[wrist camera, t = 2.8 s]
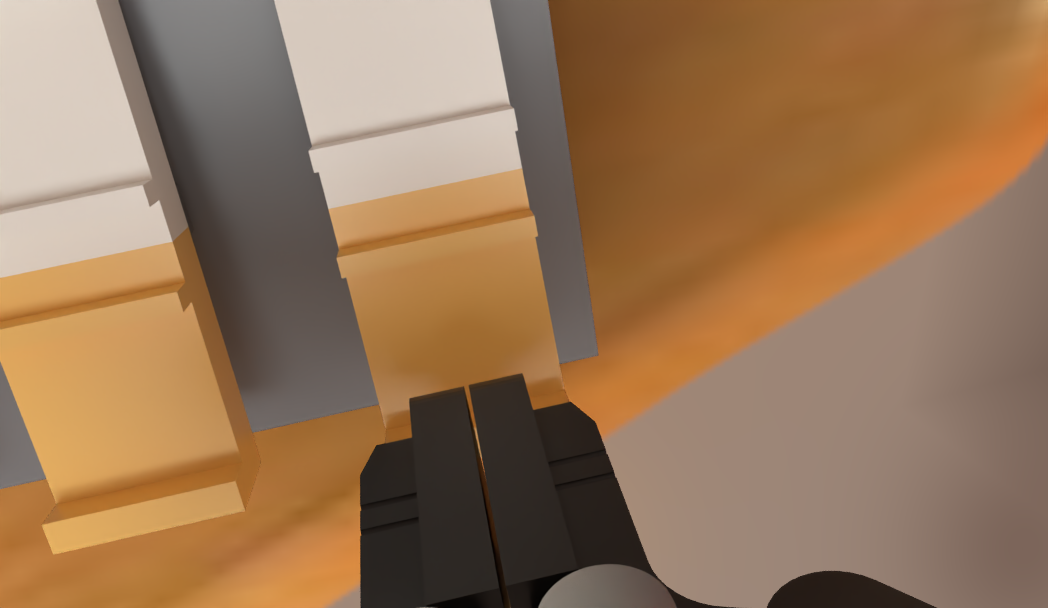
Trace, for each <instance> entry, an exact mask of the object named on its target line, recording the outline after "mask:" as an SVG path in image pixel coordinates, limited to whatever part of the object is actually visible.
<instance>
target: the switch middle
mask: <svg viewBox="0 0 1048 608" xmlns="http://www.w3.org/2000/svg"><path fill="white" fill-rule="evenodd" d="M0 362H1V364H2V367H3V369H4V372H5V374H6V377H7V380H8V382H9V385H10V387H11V390H12V392H13V395H14V397H15V400H16V402H17V405H18V408H19V410H20V413H21V415H22V418H23V420H24V423H25V425H26V428H27V430H28V433H29V436H30V438H31V441H32V443H33V446H34V448H35V451H36V453H37V456H38V458H39V461H40V463H41V466H42V469H43V471H44V474H45V476H46V479H47V481H48V484H49V486H50V489H51V491H52V494H53V497H54V499H55V502H56V506H55V507H54V508H53V510H52V511H51V513H50V514H49V515H48V517H47V518H46V520H45V521H44V522H43V524H42V527H43V530H44V532H45V535H46V537H47V540H48V542H49V545H50V547H51V550H52V552H53V555H54V554H58V553H63V552H67V551H71V550H76V549H80V548H85V547H89V546H93V545H98V544H102V543H107V542H111V541H115V540H120V539H124V538H128V537H133V536H137V535H142V534H146V533H150V532H155V531H159V530H164V529H168V528H172V527H177V526H181V525H185V524H190V523H194V522H199V521H203V520H207V519H212V518H216V517H221V516H225V515H229V514H234V513H238V512H242V511H245V510H246V507H247V504H248V501H249V498H250V495H251V492H252V489H253V485H254V482H255V479H256V476H257V473H258V470H259V467H260V464H261V459H260V456H259V453H258V449H257V446H256V443H255V440H254V437H253V433H252V430H251V427H250V424H249V420H248V417H247V414H246V411H245V408H244V404H243V401H242V398H241V395H240V391H239V388H238V385H237V382H236V379H235V375H234V372H233V369H232V366H231V362H230V359H229V356H228V353H227V350H226V346H225V343H224V340H223V337H222V333H221V330H220V327H219V324H218V321H217V317H216V314H215V311H214V308H213V304H212V301H211V298H210V295H209V291H208V288H207V285H206V282H205V279H204V275H203V272H202V269H201V266H200V262H199V259H198V256H197V253H196V250H195V246H194V243H193V240H192V237H191V233H190V230H189V227H188V224H187V221H186V217H185V214H184V211H183V208H182V204H181V201H180V198H179V195H178V192H177V188H176V185H175V182H174V179H173V175H172V172H171V169H170V166H169V163H168V159H167V156H166V153H165V150H164V146H163V143H162V140H161V137H160V134H159V130H158V127H157V124H156V121H155V117H154V114H153V111H152V108H151V104H150V101H149V98H148V95H147V92H146V88H145V85H144V82H143V79H142V75H141V72H140V69H139V66H138V63H137V59H136V56H135V53H134V50H133V46H132V43H131V40H130V37H129V34H128V30H127V27H126V24H125V21H124V17H123V14H122V11H121V8H120V5H119V1H118V0H0Z"/></svg>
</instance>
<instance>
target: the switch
mask: <svg viewBox="0 0 1048 608" xmlns="http://www.w3.org/2000/svg"><path fill="white" fill-rule="evenodd" d="M274 2H275V6H276V10H277V14H278V17H279V21H280V25H281V29H282V33H283V37H284V41H285V44H286V48H287V52H288V56H289V60H290V64H291V67H292V71H293V75H294V79H295V83H296V87H297V90H298V94H299V98H300V102H301V106H302V110H303V114H304V117H305V121H306V125H307V129H308V133H309V137H310V140H311V144H312V147H311V148H310V149H309V151H308V152H309V155H310V159H311V163H312V167H313V171H314V173H317V172H319V175H320V179H321V183H322V187H323V190H324V194H325V198H326V202H327V206H328V210H329V213H330V217H331V221H332V225H333V229H334V233H335V236H336V240H337V244H338V248H339V251H338V254H337V262H338V266H339V270H340V274H341V278H346V279H347V283H348V286H349V290H350V294H351V298H352V302H353V306H354V309H355V313H356V317H357V321H358V325H359V329H360V332H361V336H362V340H363V344H364V348H365V352H366V356H367V359H368V363H369V367H370V371H371V375H372V379H373V382H374V386H375V390H376V394H377V398H378V402H379V405H380V409H381V413H382V417H383V421H384V425H385V429H386V439H385V443H389V442H394V441H398V440H403V439H407V438H412V431H411V419H410V407H409V399H410V398H413V397H417V396H422V395H426V394H431V393H435V392H440V391H444V390H449V389H453V388H458V387H462V386H464V388H465V392H466V396H467V400H468V405H469V409H470V413H471V418H472V422H473V426H474V431H475V435H476V439H477V443H478V448H479V452H480V456H481V457H482V455H481V450H480V445H479V439H478V434H477V428H476V423H475V418H474V412H473V407H472V402H471V396H470V391H469V385H470V384H475V383H479V382H484V381H488V380H493V379H497V378H502V377H507V376H511V375H516V374H520V373H522V374H523V376H524V380H525V383H526V387H527V390H528V394H529V397H530V401H531V404H532V408H533V410H536V409H540V408H544V407H549V406H553V405H558V404H562V403H567V402H569V399H568V397H567V395H566V392H565V390H564V385H563V380H562V374H561V369H560V364H559V359H558V353H557V348H556V343H555V338H554V333H553V327H552V322H551V317H550V312H549V306H548V301H547V296H546V291H545V285H544V280H543V275H542V270H541V265H540V259H539V254H538V249H537V244H536V238H535V237H537V236H538V232H537V227H536V222H535V217H534V214H533V213H532V211H531V210H530V207H529V202H528V197H527V191H526V186H525V181H524V176H523V170H522V165H521V160H520V155H519V149H518V144H517V139H516V134H515V131H518V127H517V122H516V117H515V111H514V108H513V107H512V106H510V102H509V97H508V92H507V87H506V81H505V76H504V71H503V66H502V61H501V55H500V50H499V45H498V40H497V34H496V29H495V24H494V19H493V14H492V8H491V3H490V0H274Z"/></svg>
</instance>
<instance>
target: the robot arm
mask: <svg viewBox="0 0 1048 608" xmlns="http://www.w3.org/2000/svg"><path fill="white" fill-rule="evenodd" d="M469 391H470V396H471V402H472V407H473V412H474V418H475V423H476V428H477V434H478V439H479V445H480V450H481V455H482V461H483V465H482V461H481V456H480V452H479V448H478V443H477V439H476V435H475V431H474V426H473V422H472V418H471V413H470V409H469V405H468V400H467V396H466V392H465V388H464V386H462V387H458V388H453V389H449V390H444V391H440V392H435V393H431V394H426V395H422V396H417V397H413V398H410V399H409V407H410V419H411V431H412V438H407V439H403V440H398V441H394V442H389V443H385V444H380V445H376V447H375V449H374V451H373V453H372V455H371V456H370V458H369V460H368V462H367V464H366V466H365V467H364V469H363V471H362V473H361V475H360V506H361V511H360V530H361V536H360V568H361V608H734V607H720V606H712V605H707V604H702V603H699V602H696V601H693V600H690V599H687V598H685V597H684V596H681V595H680V594H678V593H676V592H674V591H673V590H672V589H670V588H669V587H667V586H666V585H665V584H664V583H663V582H662V581H661V580H660V579H659V578H658V577H657V576H656V574H655V573H654V572H653V570H652V569H651V566H650V564H649V563H648V560H647V558H646V555H645V552H644V550H643V547H642V544H641V542H640V539H639V536H638V534H637V531H636V528H635V526H634V523H633V520H632V518H631V515H630V513H629V510H628V508H627V505H626V502H625V499H624V497H623V494H622V491H621V489H620V486H619V483H618V481H617V478H615V474H614V470H613V468H612V465H611V462H610V460H609V457H608V455H607V454H606V449H605V446H604V444H603V441H602V438H601V436H600V433H599V430H598V428H597V425H596V423H595V421H594V420H592V419H591V418H590V417H589V416H587V415H586V414H585V413H584V412H583V411H581V410H580V409H579V408H578V407H576V406H575V405H574V404H573V403H571V402H567V403H562V404H558V405H553V406H549V407H544V408H540V409H536V410H533V408H532V404H531V401H530V397H529V394H528V390H527V387H526V383H525V380H524V376H523V374H522V373H520V374H516V375H511V376H507V377H502V378H497V379H493V380H488V381H484V382H479V383H475V384H470V385H469ZM483 466H484V469H483ZM484 471H485V474H484ZM485 477H486V478H485ZM767 608H936V607H934V606H932V605H930V604H927V603H925V602H923V601H921V600H918V599H916V598H914V597H912V596H910V595H907V594H905V593H903V592H901V591H898V590H896V589H894V588H892V587H890V586H887V585H885V584H883V583H881V582H878V581H876V580H873V579H871V578H868V577H865V576H863V575H859V574H854V573H850V572H842V571H822V572H814V573H810V574H807V575H803V576H800V577H798V578H796V579H793V580H791V581H790V582H788V583H787V584H785V585H784V586H782V587H781V588H780V589H779V590H778V591H777V592H776V593H775V594H774V595H773V597H772V599H771V600H770V602H769V603H768V606H767Z"/></svg>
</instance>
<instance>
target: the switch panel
mask: <svg viewBox="0 0 1048 608" xmlns="http://www.w3.org/2000/svg"><path fill="white" fill-rule="evenodd" d="M118 1H119V5H120V8H121V11H122V14H123V17H124V21H125V24H126V27H127V30H128V34H129V37H130V40H131V43H132V46H133V50H134V53H135V56H136V59H137V63H138V66H139V69H140V72H141V75H142V79H143V82H144V85H145V88H146V92H147V95H148V98H149V101H150V104H151V108H152V111H153V114H154V117H155V121H156V124H157V127H158V130H159V134H160V137H161V140H162V143H163V146H164V150H165V153H166V156H167V159H168V163H169V166H170V169H171V172H172V175H173V179H174V182H175V185H176V188H177V192H178V195H179V198H180V201H181V204H182V208H183V211H184V214H185V217H186V221H187V224H188V227H189V230H190V233H191V237H192V240H193V243H194V246H195V250H196V253H197V256H198V259H199V262H200V266H201V269H202V272H203V275H204V279H205V282H206V285H207V288H208V291H209V295H210V298H211V301H212V304H213V308H214V311H215V314H216V317H217V321H218V324H219V327H220V330H221V333H222V337H223V340H224V343H225V346H226V350H227V353H228V356H229V359H230V362H231V366H232V369H233V372H234V375H235V379H236V382H237V385H238V388H239V391H240V395H241V398H242V401H243V404H244V408H245V411H246V414H247V417H248V420H249V424H250V427H251V430H252V433H253V432H258V431H262V430H267V429H271V428H276V427H280V426H285V425H289V424H293V423H298V422H302V421H307V420H311V419H316V418H320V417H325V416H329V415H334V414H338V413H343V412H347V411H352V410H356V409H361V408H365V407H370V406H374V405H379V402H378V398H377V394H376V390H375V386H374V382H373V379H372V375H371V371H370V367H369V363H368V359H367V356H366V352H365V348H364V344H363V340H362V336H361V332H360V329H359V325H358V321H357V317H356V313H355V309H354V306H353V302H352V298H351V294H350V290H349V286H348V283H347V279H346V278H341V274H340V270H339V266H338V262H337V254H338V251H339V248H338V244H337V240H336V236H335V233H334V229H333V225H332V221H331V217H330V213H329V210H328V206H327V202H326V198H325V194H324V190H323V187H322V183H321V179H320V175H319V172H317V173H314V171H313V167H312V163H311V159H310V155H309V152H308V151H309V149H310V148H311V147H312V144H311V140H310V137H309V133H308V129H307V125H306V121H305V117H304V114H303V110H302V106H301V102H300V98H299V94H298V90H297V87H296V83H295V79H294V75H293V71H292V67H291V64H290V60H289V56H288V52H287V48H286V44H285V41H284V37H283V33H282V29H281V25H280V21H279V17H278V14H277V10H276V6H275V2H274V0H118ZM490 3H491V8H492V14H493V19H494V24H495V29H496V34H497V40H498V45H499V50H500V55H501V61H502V66H503V71H504V76H505V81H506V87H507V92H508V97H509V102H510V106H512V107H513V108H514V111H515V117H516V122H517V127H518V131H515V134H516V139H517V144H518V149H519V155H520V160H521V165H522V170H523V176H524V181H525V186H526V191H527V197H528V202H529V207H530V210H531V211H532V213H533V214H534V217H535V222H536V227H537V232H538V236H537V237H535V238H536V244H537V249H538V254H539V259H540V265H541V270H542V275H543V280H544V285H545V291H546V296H547V301H548V306H549V312H550V317H551V322H552V327H553V333H554V338H555V343H556V348H557V353H558V359H559V364H562V363H567V362H571V361H576V360H580V359H585V358H589V357H593V356H598V348H597V341H596V334H595V327H594V320H593V313H592V306H591V299H590V292H589V285H588V278H587V271H586V264H585V257H584V250H583V243H582V236H581V229H580V222H579V215H578V208H577V201H576V194H575V187H574V180H573V173H572V166H571V159H570V152H569V145H568V138H567V131H566V124H565V117H564V110H563V103H562V96H561V89H560V82H559V75H558V68H557V61H556V54H555V47H554V40H553V33H552V26H551V19H550V12H549V5H548V0H490ZM43 479H46V476H45V474H44V471H43V469H42V466H41V463H40V461H39V458H38V456H37V453H36V451H35V448H34V446H33V443H32V441H31V438H30V436H29V433H28V430H27V428H26V425H25V423H24V420H23V418H22V415H21V413H20V410H19V408H18V405H17V402H16V400H15V397H14V395H13V392H12V390H11V387H10V385H9V382H8V380H7V377H6V374H5V372H4V369H3V367H2V364H1V362H0V489H2V488H7V487H11V486H16V485H20V484H25V483H29V482H34V481H38V480H43Z"/></svg>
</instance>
